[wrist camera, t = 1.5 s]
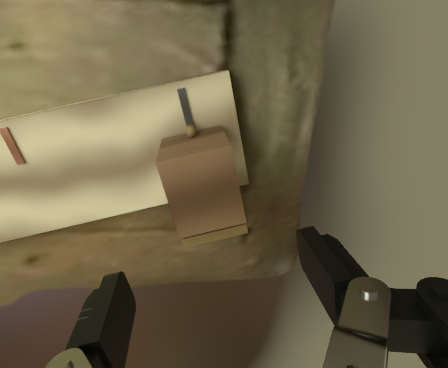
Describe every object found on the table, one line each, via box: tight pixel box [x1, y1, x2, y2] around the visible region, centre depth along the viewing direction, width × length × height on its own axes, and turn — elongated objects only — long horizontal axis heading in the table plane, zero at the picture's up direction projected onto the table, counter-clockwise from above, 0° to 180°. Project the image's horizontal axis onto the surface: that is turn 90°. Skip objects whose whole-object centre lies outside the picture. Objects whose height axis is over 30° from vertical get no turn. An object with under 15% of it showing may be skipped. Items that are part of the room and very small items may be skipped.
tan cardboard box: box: [155, 124, 248, 248], centre depth 24 cm, size 8×5×7 cm, turn 11°
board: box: [0, 70, 249, 243], centre depth 26 cm, size 10×28×2 cm, turn 101°
